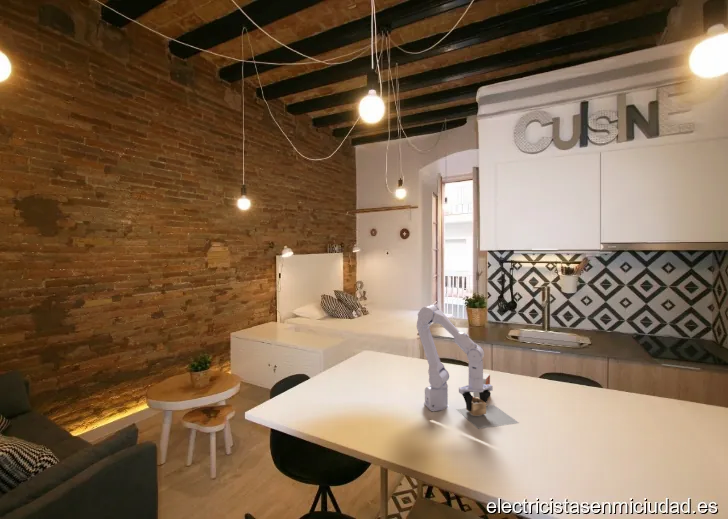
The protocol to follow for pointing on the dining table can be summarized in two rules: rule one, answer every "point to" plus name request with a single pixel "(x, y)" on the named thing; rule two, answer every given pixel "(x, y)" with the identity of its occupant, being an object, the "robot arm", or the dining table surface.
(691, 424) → the dining table surface
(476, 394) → the small box
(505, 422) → the panel
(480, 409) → the wooden cubby shelf
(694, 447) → the dining table surface
